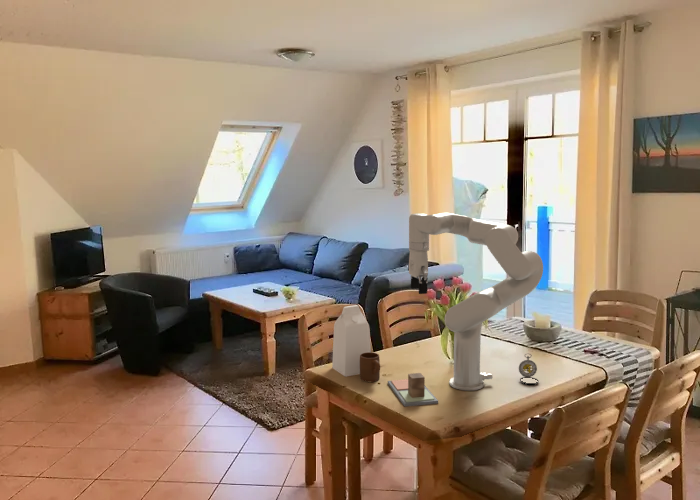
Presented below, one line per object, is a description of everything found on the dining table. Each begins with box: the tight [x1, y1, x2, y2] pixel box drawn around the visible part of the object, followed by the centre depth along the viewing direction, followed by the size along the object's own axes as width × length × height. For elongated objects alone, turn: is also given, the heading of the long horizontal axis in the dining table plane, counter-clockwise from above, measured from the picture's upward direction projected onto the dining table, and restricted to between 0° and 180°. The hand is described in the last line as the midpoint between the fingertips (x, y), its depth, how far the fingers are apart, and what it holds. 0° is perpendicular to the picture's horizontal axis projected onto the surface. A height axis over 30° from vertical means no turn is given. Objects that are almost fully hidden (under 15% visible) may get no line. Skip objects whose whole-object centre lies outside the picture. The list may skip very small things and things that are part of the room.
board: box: [387, 378, 439, 407], centre depth 211 cm, size 12×22×1 cm, turn 11°
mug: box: [359, 351, 381, 383], centre depth 223 cm, size 12×8×9 cm, turn 23°
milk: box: [331, 305, 372, 377], centre depth 235 cm, size 12×12×26 cm
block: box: [407, 372, 426, 398], centre depth 205 cm, size 4×4×7 cm
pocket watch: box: [518, 353, 540, 385], centre depth 220 cm, size 8×8×10 cm
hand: (418, 290), depth 225 cm, fingers open, 9 cm apart
